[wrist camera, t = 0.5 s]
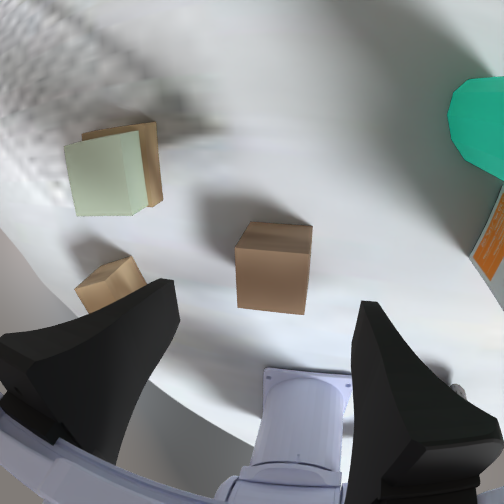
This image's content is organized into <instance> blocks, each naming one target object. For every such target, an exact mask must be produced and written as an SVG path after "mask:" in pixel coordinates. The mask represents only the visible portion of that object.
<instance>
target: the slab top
mask: <svg viewBox="0 0 504 504" xmlns="http://www.w3.org/2000/svg"><path fill="white" fill-rule="evenodd" d="M64 152H65V158H66V164H67V170H68V176H69V181H70V187H71V192H72V197H73V201H74V206H75V211H76V215H77V216H133V215H134V214H136V213H137V212H139V211H140V210H142V209H144V208H145V207H147V206H148V198H147V192H146V185H145V178H144V171H143V164H142V156H141V148H140V140H139V131H131V132H126V133H120V134H114V135H109V136H104V137H99V138H94V139H89V140H85V141H81V142H77V143H73V144H70V145H66V146H64Z"/></svg>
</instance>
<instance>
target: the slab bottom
mask: <svg viewBox="0 0 504 504" xmlns="http://www.w3.org/2000/svg"><path fill="white" fill-rule="evenodd" d="M131 131H139V140H140V148H141V156H142V164H143V171H144V178H145V185H146V192H147V198H148V206H147V207H154V206H155V205H157V204H158V203H160V202H161V201H163V193H162V184H161V175H160V164H159V154H158V142H157V129H156V122H149V123H141V124H134V125H127V126H120V127H114V128H107V129H101V130H96V131H91V132H87V133H83V134H82V141H85V140H89V139H94V138H99V137H104V136H109V135H114V134H120V133H126V132H131Z"/></svg>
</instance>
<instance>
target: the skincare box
mask: <svg viewBox="0 0 504 504" xmlns="http://www.w3.org/2000/svg"><path fill="white" fill-rule="evenodd" d="M469 259H470V261H471V262H472V264H473V265H474V266H475V268H476V269H477V271H478V272H479V274H480V275H481V277H482V278H483V280H484V281H485V283H486V284H487V286H488V287H489V289H490V290H491V292H492V293H493V295H494V297H495V298H496V300H497V301H498V303H499V305H500V306H501V308H502V309H503V311H504V185H502V188H501V191H500V194H499V196H498V199H497V201H496V203H495V206H494V208H493V210H492V213H491V215H490V217H489V219H488V222H487V224H486V226H485V228H484V230H483V232H482V234H481V236H480V238H479V240H478V241H477V243H476V245H475V247H474V249H473V251H472V252H471V254H470V256H469Z"/></svg>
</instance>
